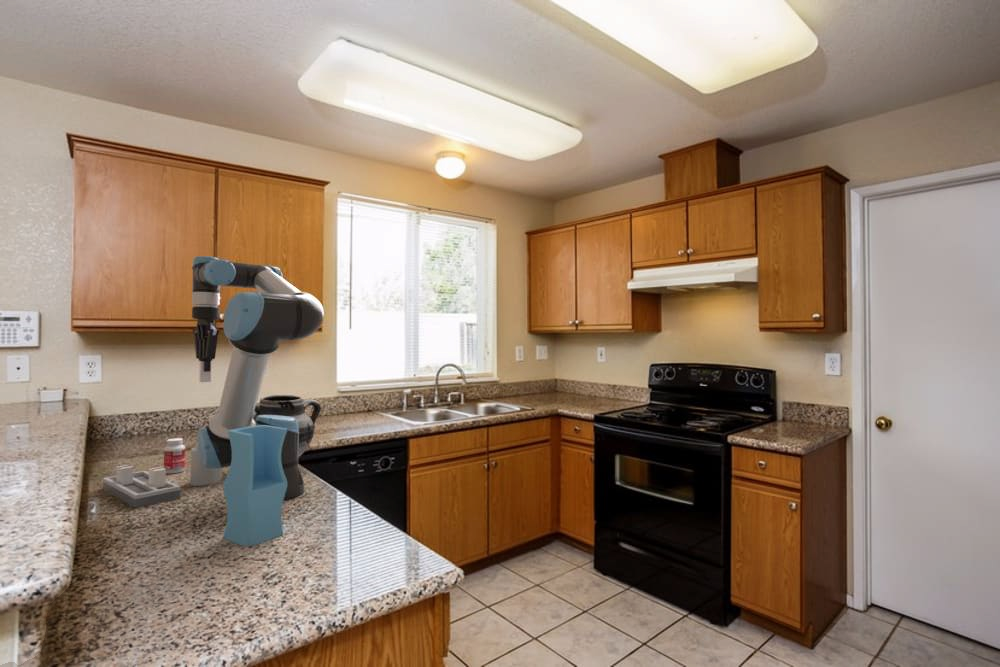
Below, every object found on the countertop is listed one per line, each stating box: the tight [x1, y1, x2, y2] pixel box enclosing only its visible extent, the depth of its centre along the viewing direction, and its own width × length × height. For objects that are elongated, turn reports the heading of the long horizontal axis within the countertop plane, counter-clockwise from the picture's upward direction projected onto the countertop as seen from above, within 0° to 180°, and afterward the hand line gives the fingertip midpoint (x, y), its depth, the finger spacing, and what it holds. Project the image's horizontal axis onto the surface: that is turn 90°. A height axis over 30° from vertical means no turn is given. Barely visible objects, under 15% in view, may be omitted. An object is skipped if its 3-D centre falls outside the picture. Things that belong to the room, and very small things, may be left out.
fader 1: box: [115, 464, 134, 486], centre depth 151 cm, size 4×3×5 cm
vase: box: [222, 425, 287, 547], centre depth 120 cm, size 10×10×25 cm
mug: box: [189, 446, 222, 487], centre depth 164 cm, size 12×8×11 cm
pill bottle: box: [163, 437, 186, 475], centre depth 174 cm, size 6×6×11 cm
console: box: [102, 470, 181, 509], centre depth 150 cm, size 27×11×3 cm, turn 53°
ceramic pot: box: [253, 394, 322, 458], centre depth 184 cm, size 29×23×25 cm
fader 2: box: [148, 466, 167, 488], centre depth 149 cm, size 4×3×5 cm
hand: (205, 381), depth 159 cm, fingers closed
